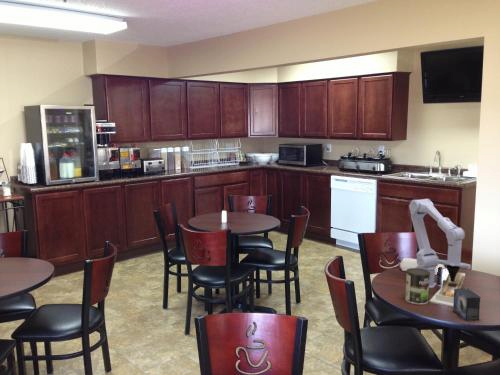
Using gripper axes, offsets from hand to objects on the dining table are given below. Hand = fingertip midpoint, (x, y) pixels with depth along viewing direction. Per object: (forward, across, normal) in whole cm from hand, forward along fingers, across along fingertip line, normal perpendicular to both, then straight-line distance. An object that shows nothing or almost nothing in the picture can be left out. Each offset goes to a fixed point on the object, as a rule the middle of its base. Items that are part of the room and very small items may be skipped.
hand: (452, 281), depth 220 cm
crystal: (+8, -22, +28) cm, 37 cm away
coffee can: (+8, -12, -16) cm, 21 cm away
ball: (+5, 0, -7) cm, 9 cm away
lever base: (+7, 0, -2) cm, 8 cm away
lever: (+5, 0, +4) cm, 6 cm away
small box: (+8, +10, -20) cm, 24 cm away
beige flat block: (+7, 0, -7) cm, 10 cm away
